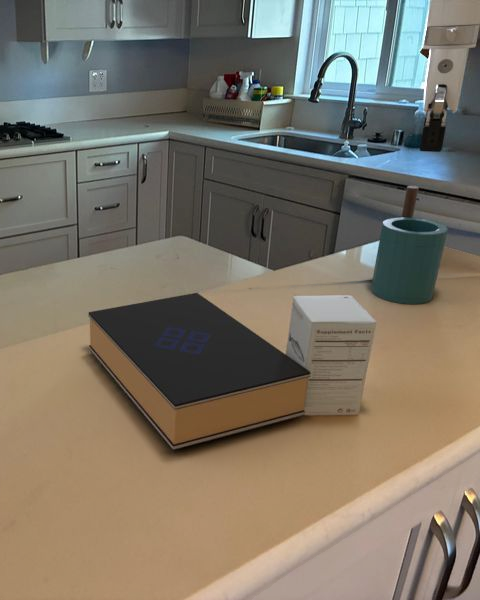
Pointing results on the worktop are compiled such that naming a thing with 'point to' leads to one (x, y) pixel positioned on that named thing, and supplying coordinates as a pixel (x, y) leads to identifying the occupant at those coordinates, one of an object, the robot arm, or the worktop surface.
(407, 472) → the worktop surface
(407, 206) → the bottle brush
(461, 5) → the robot arm
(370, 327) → the white packaging box
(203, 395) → the book
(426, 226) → the teal pen holder
